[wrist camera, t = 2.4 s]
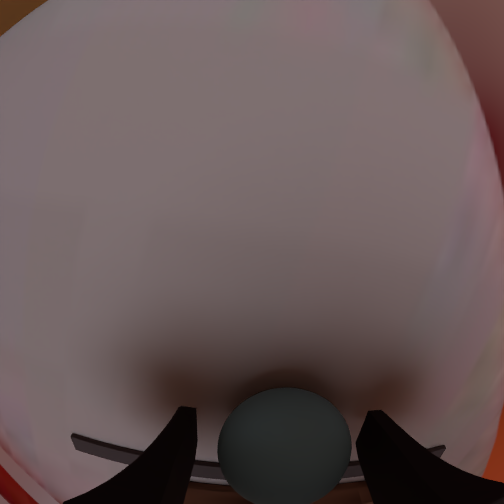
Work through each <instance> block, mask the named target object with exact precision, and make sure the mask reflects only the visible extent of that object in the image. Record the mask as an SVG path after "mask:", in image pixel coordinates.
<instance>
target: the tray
mask: <svg viewBox="0 0 504 504" xmlns="http://www.w3.org/2000/svg"><path fill="white" fill-rule="evenodd" d="M183 504H254V503H252V502H250V501H248V500H246V499H245V498H243V497H242V496H241V495H239V494H238V493H237V492H236V491H235V490H234V489H233V488H232V487H231V486H226V485H215V484H205V483H196V482H189V485H188V488H187V492H186V496H185V500H184V503H183ZM311 504H373V501H372V498H371V495H370V492H369V489H368V486H367V483H366V481H360V482H352V483H344V484H337V485H336V486H335V487H334V488H333V489H332V490H331V491H330V492H329V493H328V494H326V495H325V496H324V497H322V498H321V499H319V500H317V501H315V502H313V503H311Z"/></svg>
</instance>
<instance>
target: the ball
mask: <svg viewBox="0 0 504 504" xmlns="http://www.w3.org/2000/svg"><path fill="white" fill-rule="evenodd" d="M351 449H352V446H351V436H350V431H349V428H348V425H347V423H346V421H345V419H344V418H343V416H342V415H341V413H340V412H339V411H338V410H337V408H336V407H335V406H334V405H333V404H331V403H330V402H329V401H328V400H326V399H325V398H323V397H321V396H319V395H318V394H315V393H313V392H310V391H307V390H303V389H298V388H275V389H270V390H266V391H263V392H260V393H258V394H255V395H254V396H252V397H250V398H248V399H246V400H245V401H244V402H242V403H241V404H240V405H239V406H238V407H237V408H235V409H234V410H233V412H232V413H231V414H230V415H229V417H228V418H227V420H226V421H225V423H224V425H223V427H222V430H221V432H220V435H219V440H218V451H217V453H218V461H219V465H220V468H221V471H222V473H223V475H224V477H225V479H226V480H227V482H228V483H229V485H230V486H231V487H232V488H233V489H234V490H235V491H236V492H237V493H238V494H239V495H241V496H242V497H243V498H245V499H246V500H248V501H250V502H252V503H254V504H311V503H313V502H315V501H317V500H319V499H321V498H322V497H324V496H325V495H326V494H328V493H329V492H330V491H331V490H332V489H333V488H334V487H335V486H336V485H337V484H338V483H339V481H340V480H341V479H342V477H343V475H344V473H345V472H346V470H347V467H348V464H349V461H350V456H351Z"/></svg>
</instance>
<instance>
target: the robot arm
mask: <svg viewBox="0 0 504 504" xmlns="http://www.w3.org/2000/svg"><path fill="white" fill-rule="evenodd" d="M196 448H197V415H196V408H192V407H185V406H180V407H179V408H178V409H177V411H176V413H175V414H174V416H173V417H172V419H171V420H170V421H169V423H168V424H167V426H166V427H165V428H164V429H163V431H162V432H161V433H160V434H159V436H158V437H157V438H156V439H155V440H154V441H153V443H152V444H151V445H150V446H149V447H148V448H147V449H146V450H145V451H144V452H143V453H142V454H141V455H140V456H139V457H138V458H137V459H136V460H135V461H133V462H132V463H131V464H130V465H129V466H127V467H126V468H125V469H124V470H122V471H121V472H120V473H118V474H117V475H115V476H114V477H113V478H111V479H110V480H108V481H106V482H105V483H103V484H101V485H99V486H98V487H96V488H94V489H92V490H90V491H88V492H86V493H84V494H82V495H79V496H77V497H75V498H72V499H70V500H67V501H64V502H63V504H183V503H184V500H185V496H186V492H187V488H188V485H189V481H190V477H191V474H192V470H193V466H194V462H195V455H196ZM356 448H357V454H358V459H359V463H360V466H361V469H362V472H363V475H364V478H365V481H366V483H367V486H368V489H369V492H370V495H371V498H372V501H373V504H504V483H502V482H497V481H493V480H488V479H484V478H481V477H478V476H475V475H473V474H470V473H468V472H465V471H463V470H461V469H459V468H456V467H454V466H452V465H451V464H449V463H447V462H445V461H444V460H442V459H440V458H439V457H437V456H435V455H434V454H433V453H431V452H430V451H428V450H427V449H426V448H424V447H423V446H422V445H420V444H419V443H418V442H417V441H415V440H414V439H413V438H412V437H411V436H410V435H408V434H407V433H406V432H405V431H404V430H403V429H402V428H401V427H400V426H398V425H397V424H396V423H395V422H394V421H393V420H392V419H391V418H390V417H389V416H388V415H387V414H385V413H384V412H383V411H382V410H374V411H368V413H367V416H366V418H365V421H364V423H363V426H362V428H361V431H360V433H359V436H358V438H357V440H356Z"/></svg>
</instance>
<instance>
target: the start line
mask: <svg viewBox="0 0 504 504" xmlns="http://www.w3.org/2000/svg"><path fill="white" fill-rule="evenodd" d="M71 439H72V442H73V444H74V446H75V449H76V450H79V451H82V452H85V453H88V454H91V455H95V456H98V457H101V458H105V459H109V460H112V461H116V462H120V463H124V464H128V465H130V464H131V463H132V462H133V461H135V460H136V459H137V458H138V457H139V456H140V455H141V454H142V453H143V452H140V451H136V450H131V449H127V448H122V447H118V446H114V445H110V444H107V443H103V442H99V441H96V440H92V439H89V438H85V437H82V436H79V435H76V434H73V433H72V435H71ZM445 449H446V447H445V445H443V446H439V447H435V448H431V449H427V450H428V451H430V452H431V453H433V454H434V455H435V456H437V457H439V458H440V457H441V455H442V454H443V452H444V451H445ZM191 476H194V477H203V478H212V479H223V480H226V479H225V477H224V475H223V473H222V471H221V468H220V465H219V463H212V462H202V461H195V462H194V466H193V470H192V474H191ZM357 476H364V475H363V472H362V469H361V466H360V463H359V461H357V462H349V464H348V467H347V470H346V472H345V473H344V475H343V477H342V478H349V477H357Z"/></svg>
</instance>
